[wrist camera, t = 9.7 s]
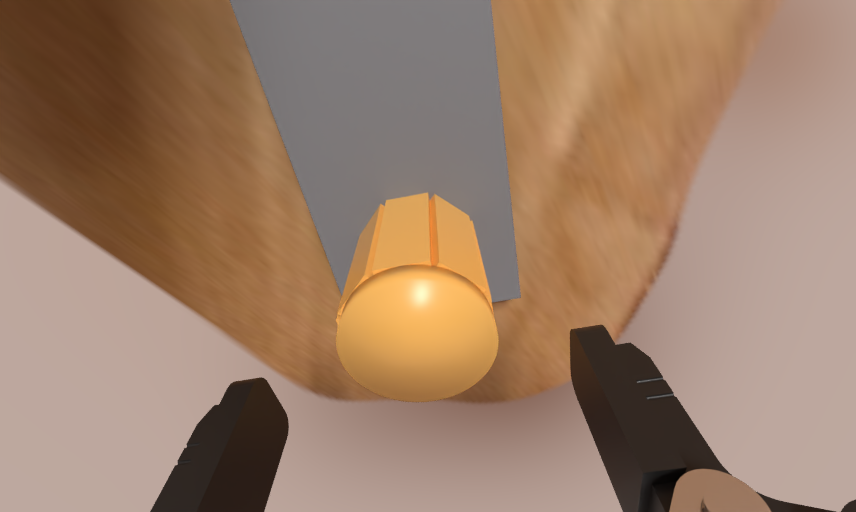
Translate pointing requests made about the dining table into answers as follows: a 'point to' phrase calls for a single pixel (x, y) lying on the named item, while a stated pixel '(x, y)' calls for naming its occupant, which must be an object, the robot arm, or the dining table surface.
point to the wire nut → (417, 303)
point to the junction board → (388, 114)
